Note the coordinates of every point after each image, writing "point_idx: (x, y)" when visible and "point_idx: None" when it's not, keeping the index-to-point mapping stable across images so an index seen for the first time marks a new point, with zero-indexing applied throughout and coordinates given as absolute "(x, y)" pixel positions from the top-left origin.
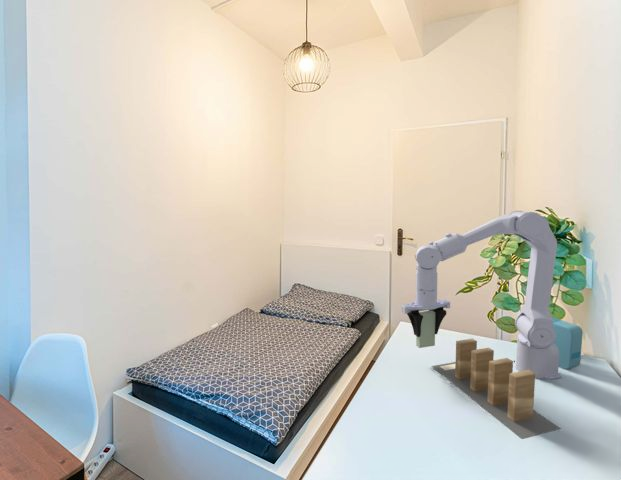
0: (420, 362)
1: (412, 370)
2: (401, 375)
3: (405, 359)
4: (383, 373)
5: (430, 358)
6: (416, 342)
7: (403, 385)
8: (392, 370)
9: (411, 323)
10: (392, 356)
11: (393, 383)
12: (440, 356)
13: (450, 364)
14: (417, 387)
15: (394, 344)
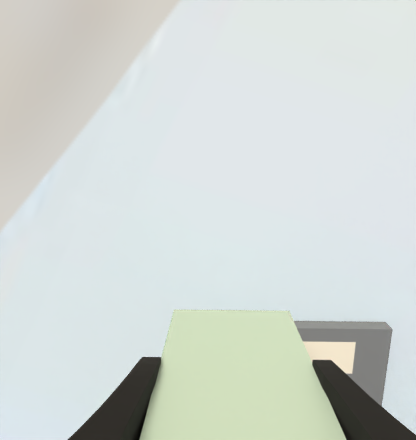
0: (212, 259)
1: (139, 307)
2: (75, 326)
3: (158, 213)
4: (6, 292)
5: (282, 241)
6: (171, 322)
7: (53, 384)
8: (54, 283)
9: (81, 427)
10: (108, 165)
11: (21, 363)
12: (343, 238)
13: (318, 339)
14: (98, 407)
15: (186, 24)
